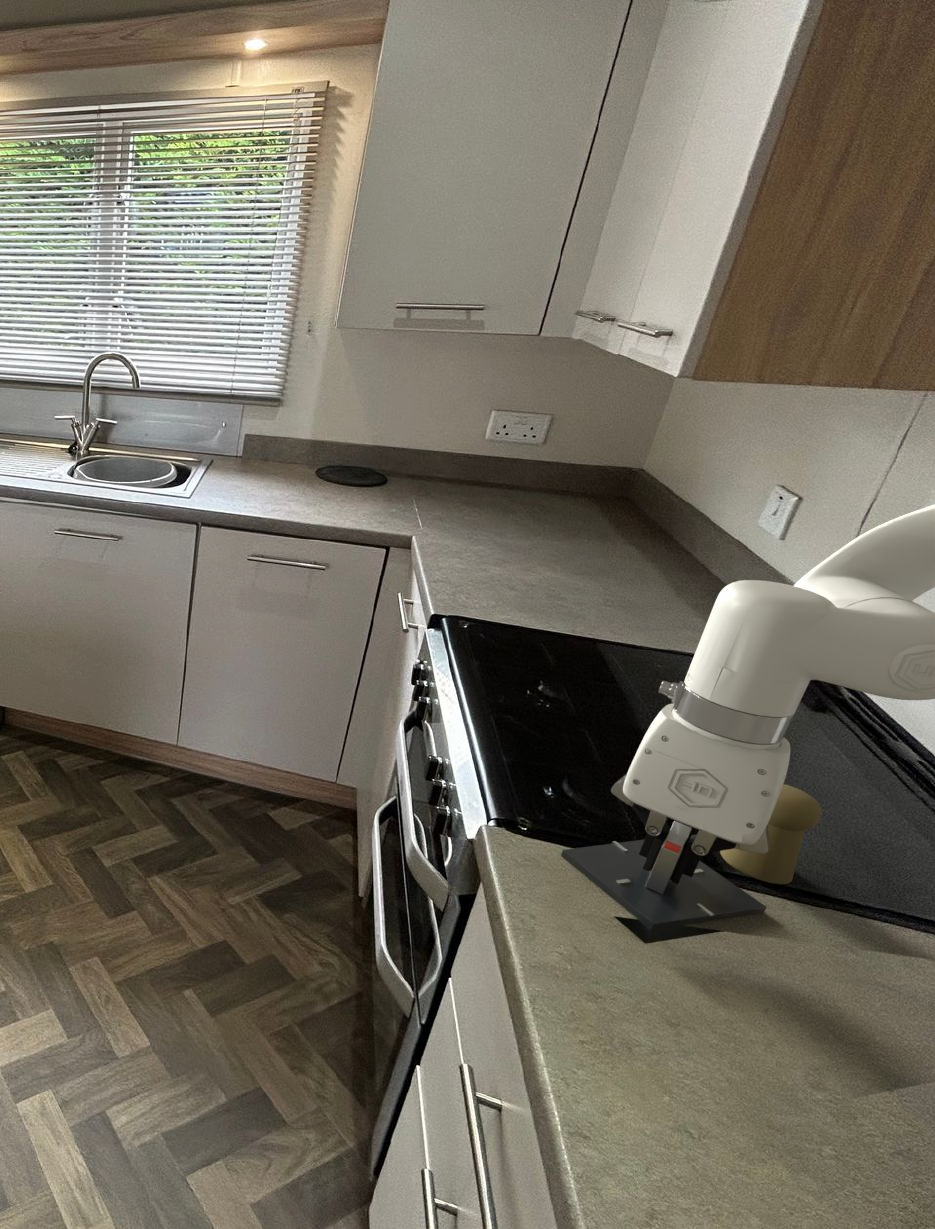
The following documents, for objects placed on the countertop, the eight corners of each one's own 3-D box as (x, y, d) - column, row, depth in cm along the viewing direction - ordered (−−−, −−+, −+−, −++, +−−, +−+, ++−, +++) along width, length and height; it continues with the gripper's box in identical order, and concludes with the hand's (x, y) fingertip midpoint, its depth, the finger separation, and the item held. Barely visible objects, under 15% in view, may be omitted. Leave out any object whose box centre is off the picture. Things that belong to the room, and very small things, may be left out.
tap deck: (656, 854, 83) (664, 834, 82) (758, 927, 73) (768, 906, 72) (555, 867, 80) (562, 847, 80) (646, 944, 71) (655, 923, 70)
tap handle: (658, 859, 78) (675, 818, 76) (675, 866, 77) (692, 825, 75) (644, 886, 75) (662, 844, 73) (662, 894, 74) (681, 852, 72)
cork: (762, 903, 76) (806, 815, 72) (697, 862, 81) (734, 778, 77) (803, 892, 78) (849, 805, 74) (736, 852, 83) (775, 769, 79)
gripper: (615, 693, 72) (560, 845, 79) (850, 768, 61) (763, 938, 68) (634, 669, 77) (580, 815, 83) (855, 735, 66) (774, 897, 72)
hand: (663, 869), depth 76 cm, fingers closed
